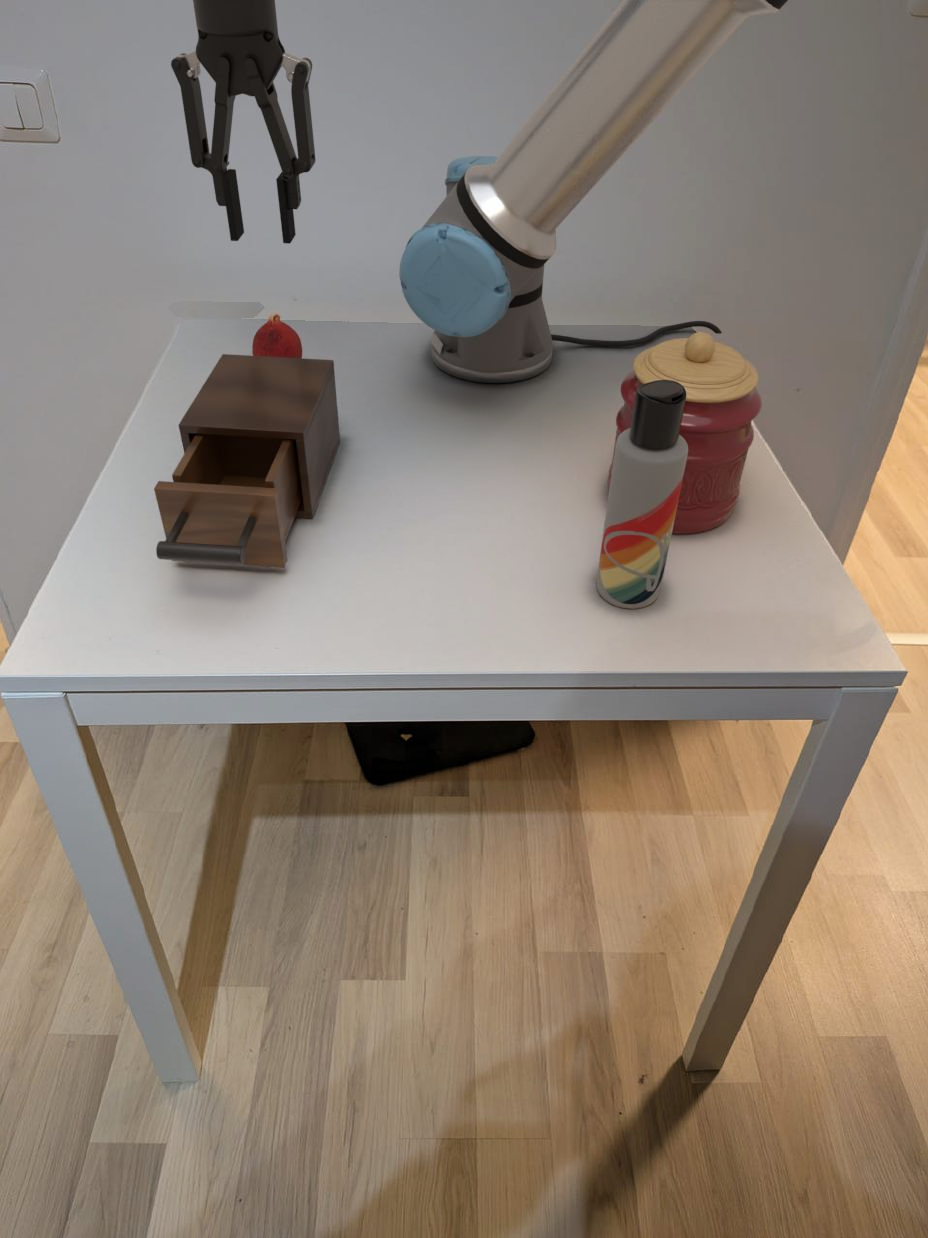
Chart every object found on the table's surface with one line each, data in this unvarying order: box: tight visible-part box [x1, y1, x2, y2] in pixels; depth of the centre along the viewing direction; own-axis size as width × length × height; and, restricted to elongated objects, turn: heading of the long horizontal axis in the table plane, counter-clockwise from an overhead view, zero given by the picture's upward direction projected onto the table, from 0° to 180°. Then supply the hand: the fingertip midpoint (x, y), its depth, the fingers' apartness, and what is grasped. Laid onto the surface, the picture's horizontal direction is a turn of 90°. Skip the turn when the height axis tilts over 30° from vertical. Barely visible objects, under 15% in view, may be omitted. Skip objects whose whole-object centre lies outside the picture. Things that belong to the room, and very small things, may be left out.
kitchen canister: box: [607, 331, 763, 534], centre depth 88 cm, size 13×13×18 cm
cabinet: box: [178, 353, 341, 520], centre depth 93 cm, size 15×12×10 cm
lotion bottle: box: [596, 380, 688, 610], centre depth 77 cm, size 6×6×20 cm
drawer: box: [153, 434, 303, 569], centre depth 84 cm, size 19×10×8 cm, turn 175°
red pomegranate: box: [251, 312, 303, 358], centre depth 110 cm, size 6×6×8 cm
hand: (263, 237), depth 101 cm, fingers open, 5 cm apart
